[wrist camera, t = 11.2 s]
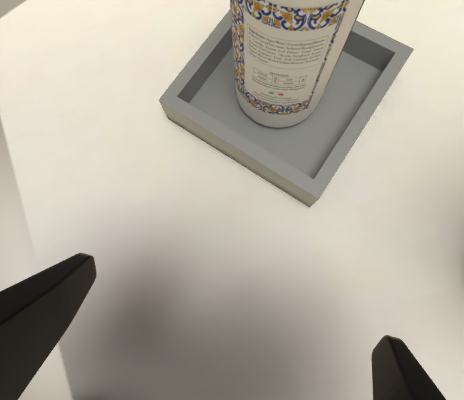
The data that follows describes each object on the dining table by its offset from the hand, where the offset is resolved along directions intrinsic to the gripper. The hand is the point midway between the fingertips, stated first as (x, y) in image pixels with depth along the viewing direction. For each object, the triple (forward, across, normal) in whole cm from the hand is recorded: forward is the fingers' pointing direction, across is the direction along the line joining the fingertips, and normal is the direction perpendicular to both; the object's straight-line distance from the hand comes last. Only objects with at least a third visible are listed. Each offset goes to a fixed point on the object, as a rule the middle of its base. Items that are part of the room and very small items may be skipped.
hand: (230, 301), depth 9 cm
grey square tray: (+21, 0, -2) cm, 21 cm away
